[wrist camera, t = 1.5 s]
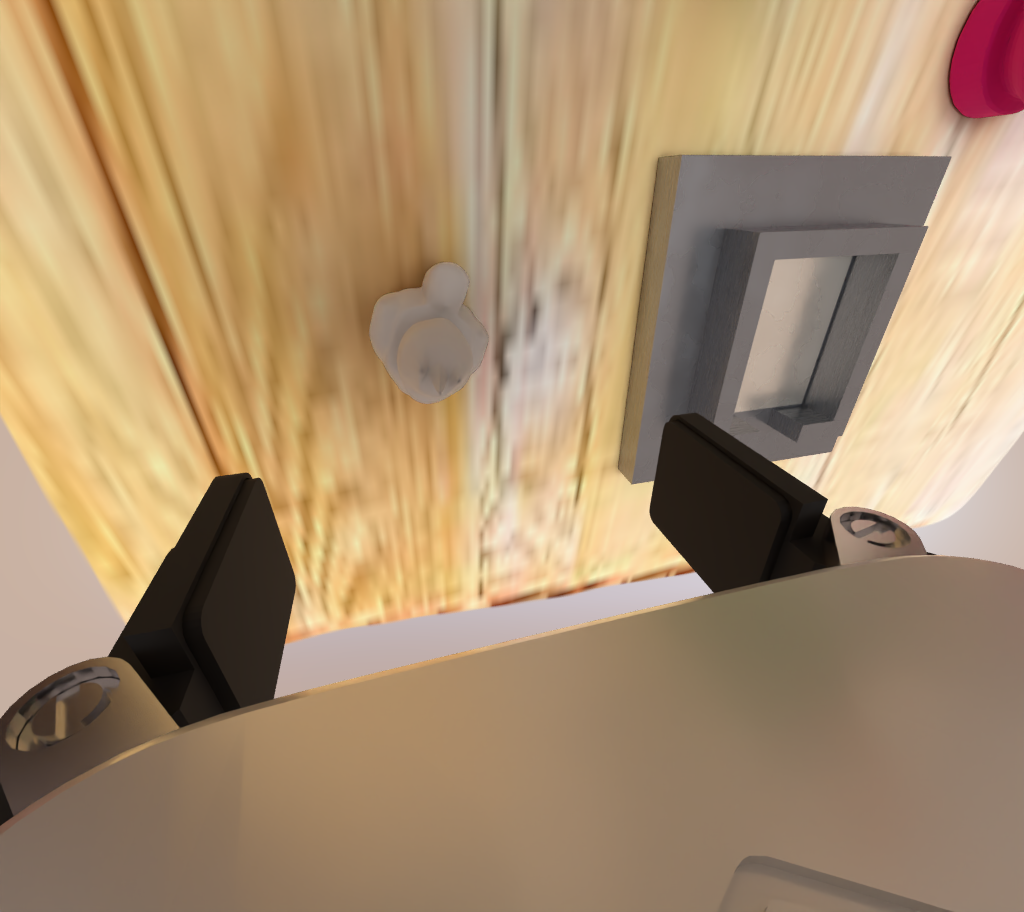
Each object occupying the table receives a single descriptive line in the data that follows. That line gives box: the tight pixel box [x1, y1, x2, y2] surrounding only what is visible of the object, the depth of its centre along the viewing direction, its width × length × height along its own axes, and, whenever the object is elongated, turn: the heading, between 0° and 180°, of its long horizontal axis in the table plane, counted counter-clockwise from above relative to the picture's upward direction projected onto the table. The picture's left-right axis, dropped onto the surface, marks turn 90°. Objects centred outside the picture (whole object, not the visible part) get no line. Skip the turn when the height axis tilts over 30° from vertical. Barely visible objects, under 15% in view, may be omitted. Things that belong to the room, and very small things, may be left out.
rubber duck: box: [369, 262, 489, 404], centre depth 20 cm, size 5×7×8 cm
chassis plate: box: [618, 155, 951, 484], centre depth 27 cm, size 18×16×4 cm
